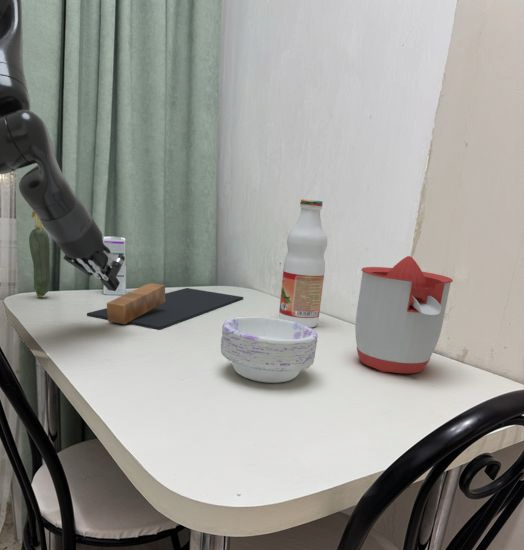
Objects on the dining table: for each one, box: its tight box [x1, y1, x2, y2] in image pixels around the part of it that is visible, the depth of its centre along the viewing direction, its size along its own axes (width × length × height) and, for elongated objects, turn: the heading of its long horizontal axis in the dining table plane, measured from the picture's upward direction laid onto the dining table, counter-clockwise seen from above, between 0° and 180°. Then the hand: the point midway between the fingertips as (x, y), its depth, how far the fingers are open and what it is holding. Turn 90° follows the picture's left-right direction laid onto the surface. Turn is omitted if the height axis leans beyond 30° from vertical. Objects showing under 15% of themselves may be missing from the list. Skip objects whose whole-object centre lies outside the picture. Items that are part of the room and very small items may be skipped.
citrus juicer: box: [354, 255, 454, 374], centre depth 90 cm, size 16×17×20 cm
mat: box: [86, 287, 244, 331], centre depth 125 cm, size 44×18×1 cm, turn 159°
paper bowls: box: [220, 315, 319, 384], centre depth 81 cm, size 15×15×8 cm
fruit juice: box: [278, 199, 328, 329], centre depth 115 cm, size 9×9×28 cm
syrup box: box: [102, 236, 127, 296], centre depth 132 cm, size 6×6×14 cm
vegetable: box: [28, 210, 51, 299], centre depth 117 cm, size 4×4×20 cm
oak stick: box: [106, 282, 166, 325], centre depth 109 cm, size 4×4×16 cm
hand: (114, 287), depth 101 cm, fingers closed
